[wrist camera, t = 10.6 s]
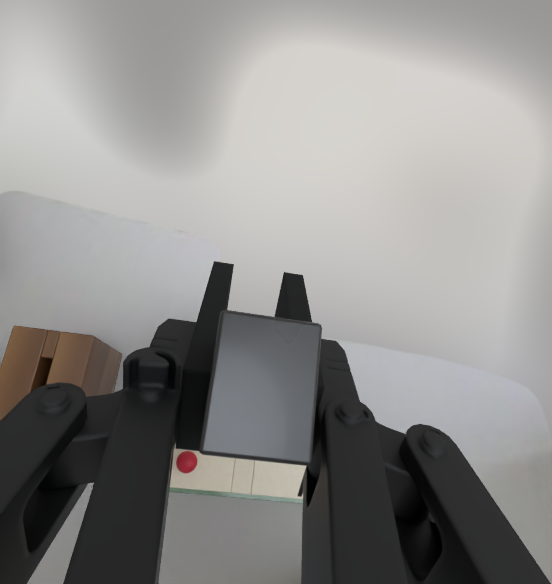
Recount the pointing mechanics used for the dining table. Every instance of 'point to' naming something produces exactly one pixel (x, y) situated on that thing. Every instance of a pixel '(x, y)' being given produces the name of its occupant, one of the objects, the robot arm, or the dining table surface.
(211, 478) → the cake
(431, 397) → the dining table surface
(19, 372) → the knife block
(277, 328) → the knife
